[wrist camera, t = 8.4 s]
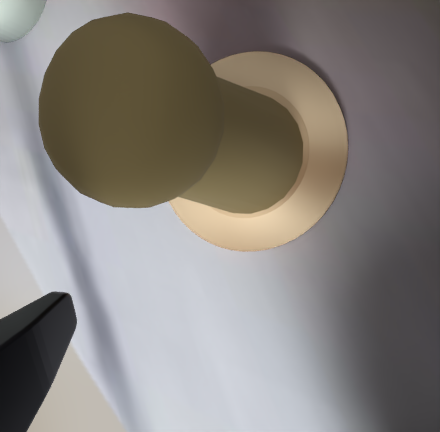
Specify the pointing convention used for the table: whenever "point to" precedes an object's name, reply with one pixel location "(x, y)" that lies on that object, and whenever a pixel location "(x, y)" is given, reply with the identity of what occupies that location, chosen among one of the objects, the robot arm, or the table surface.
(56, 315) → the robot arm
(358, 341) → the table surface
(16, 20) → the pale mint rounded cylinder
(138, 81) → the pepper shaker
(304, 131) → the trivet
